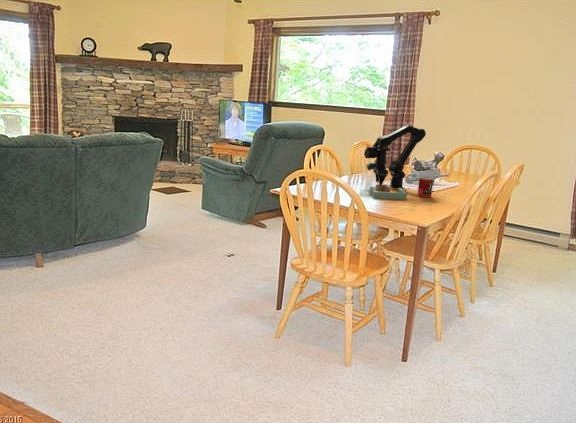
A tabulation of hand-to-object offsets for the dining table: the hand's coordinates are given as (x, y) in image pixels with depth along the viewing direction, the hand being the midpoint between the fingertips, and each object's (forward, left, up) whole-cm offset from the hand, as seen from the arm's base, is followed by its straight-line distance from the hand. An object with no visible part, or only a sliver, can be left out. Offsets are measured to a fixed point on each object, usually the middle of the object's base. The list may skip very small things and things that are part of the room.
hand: (378, 183), depth 321 cm
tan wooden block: (0, +13, -2) cm, 13 cm away
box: (0, +26, -2) cm, 26 cm away
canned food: (-22, +22, -2) cm, 31 cm away
